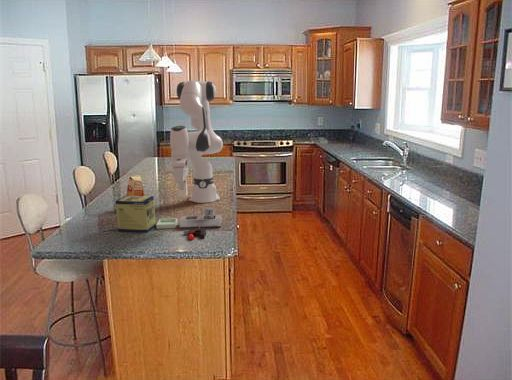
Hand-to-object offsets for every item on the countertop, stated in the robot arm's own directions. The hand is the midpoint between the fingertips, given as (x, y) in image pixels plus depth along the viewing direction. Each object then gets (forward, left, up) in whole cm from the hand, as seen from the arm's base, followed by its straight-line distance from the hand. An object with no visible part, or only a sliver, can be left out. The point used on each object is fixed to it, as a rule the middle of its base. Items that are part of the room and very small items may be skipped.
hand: (182, 188), depth 214 cm
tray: (-1, -9, -19) cm, 21 cm away
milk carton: (-37, -32, -19) cm, 53 cm away
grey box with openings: (+3, +8, -19) cm, 21 cm away
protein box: (+3, -23, -19) cm, 30 cm away
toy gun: (+18, +6, -20) cm, 27 cm away
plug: (0, 0, -4) cm, 4 cm away
